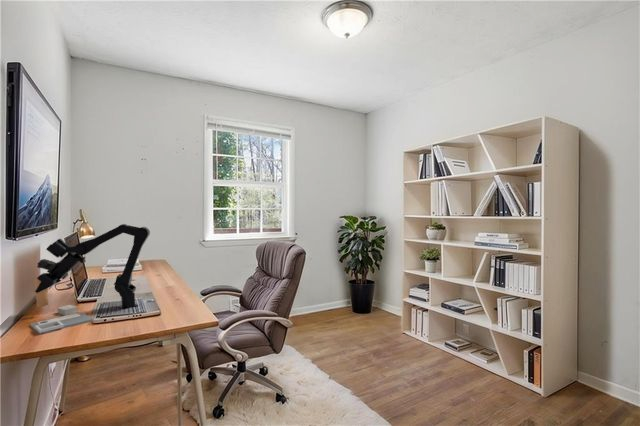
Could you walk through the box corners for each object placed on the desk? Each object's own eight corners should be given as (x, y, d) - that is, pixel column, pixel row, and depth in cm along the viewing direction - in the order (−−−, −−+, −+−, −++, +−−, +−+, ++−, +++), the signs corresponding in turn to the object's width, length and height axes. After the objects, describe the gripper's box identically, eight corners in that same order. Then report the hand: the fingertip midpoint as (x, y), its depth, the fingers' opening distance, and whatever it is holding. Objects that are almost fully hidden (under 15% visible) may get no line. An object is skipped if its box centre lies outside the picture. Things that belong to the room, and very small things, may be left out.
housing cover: (77, 312, 155) (77, 306, 155) (65, 315, 151) (65, 309, 151) (70, 310, 159) (69, 304, 159) (57, 313, 154) (57, 307, 154)
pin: (49, 305, 151) (48, 276, 151) (38, 307, 148) (36, 277, 148) (47, 303, 154) (45, 275, 153) (35, 305, 151) (34, 276, 150)
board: (94, 321, 142) (94, 317, 142) (39, 334, 128) (39, 330, 128) (81, 313, 153) (81, 309, 153) (30, 325, 139) (30, 321, 139)
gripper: (58, 250, 160) (31, 275, 157) (41, 255, 143) (10, 284, 139) (79, 265, 163) (52, 290, 160) (65, 272, 146) (35, 300, 142)
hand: (38, 291), depth 150 cm, fingers closed on pin, 4 cm apart
